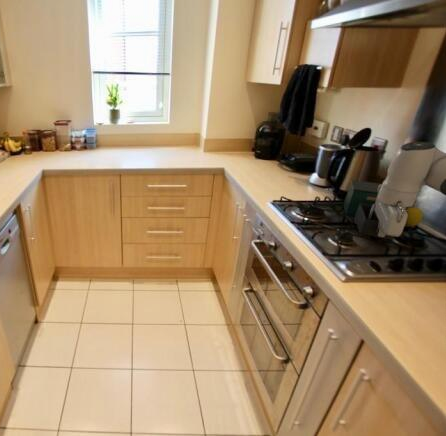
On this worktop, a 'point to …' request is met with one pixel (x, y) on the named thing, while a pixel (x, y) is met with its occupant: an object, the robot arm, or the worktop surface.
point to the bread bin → (360, 195)
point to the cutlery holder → (368, 221)
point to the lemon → (413, 216)
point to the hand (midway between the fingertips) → (380, 234)
